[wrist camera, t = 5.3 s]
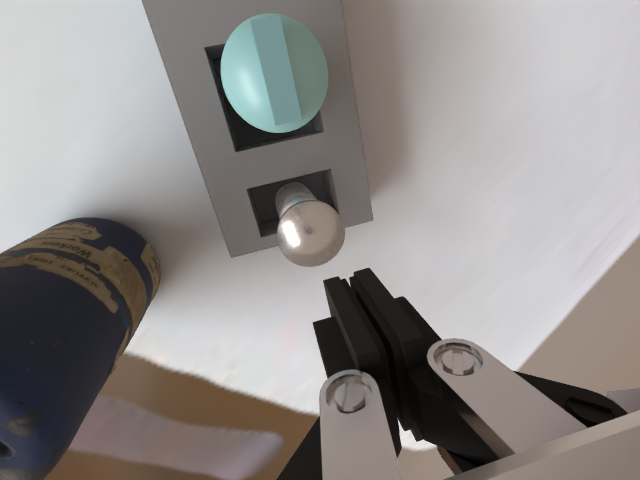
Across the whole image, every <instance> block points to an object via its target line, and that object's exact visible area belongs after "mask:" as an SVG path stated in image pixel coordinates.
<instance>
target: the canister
mask: <svg viewBox="0 0 640 480" xmlns="http://www.w3.org/2000/svg"><path fill="white" fill-rule="evenodd" d="M159 282H160V266H159V262H158V259H157V256H156V254H155V252H154V251H153V249H152V248H151V246H150V245H149V244H148V242H147V241H145V240H144V239H143V238H142V237H141V236H140V235H139V234H138V233H136V232H135V231H133V230H132V229H130V228H128V227H126V226H124V225H122V224H120V223H117V222H114V221H110V220H106V219H101V218H76V219H71V220H68V221H64V222H61V223H59V224H56V225H54V226H52V227H50V228H48V229H46V230H44V231H42V232H40V233H38V234H37V235H35V236H33V237H31V238H29V239H27V240H25V241H23V242H21V243H19V244H17V245H16V246H14V247H12V248H10V249H8V250H6V251H4V252H2V253H1V254H0V480H43V479H44V478H45V477H46V476H47V475H48V474H49V473H50V472H51V471H52V470H53V468H54V467H55V466H56V465H57V464H58V462H59V461H60V459H61V458H62V457H63V455H64V454H65V452H66V450H67V449H68V447H69V446H70V444H71V442H72V440H73V438H74V437H75V435H76V433H77V431H78V429H79V427H80V425H81V423H82V422H83V420H84V418H85V416H86V414H87V412H88V411H89V409H90V407H91V406H92V404H93V402H94V400H95V398H96V397H97V395H98V393H99V392H100V390H101V389H102V387H103V385H104V384H105V382H106V380H107V379H108V377H109V376H110V374H111V373H112V372H114V370H115V367H116V362H117V361H118V359H119V357H120V356H121V355H122V353H123V352H124V351H125V349H126V347H127V346H128V344H129V342H130V340H131V338H132V337H133V335H134V333H135V331H136V330H137V328H138V326H139V324H140V322H141V320H142V318H143V316H144V314H145V312H146V310H147V308H148V306H149V305H150V303H151V301H152V299H153V298H154V296H155V294H156V292H157V289H158V286H159Z"/></svg>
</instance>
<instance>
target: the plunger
mask: <svg viewBox="0 0 640 480" xmlns="http://www.w3.org/2000/svg"><path fill="white" fill-rule="evenodd" d="M275 203H276V207H277V211H278V215H279V219H280V220H279V223H278V227H277V239H278V243H279V247H280V249H281V251H282V253H283V254H284V255H285V256H286V258H287V259H289V260H290V261H291V262H293V263H295V264H297V265H301V266H306V267H312V266H318V265H321V264H324V263H326V262H328V261H329V260H331V259H332V258H333V257H334V256H335V255H336V254H337V253H338V252H339V250H340V249H341V247H342V245H343V242H344V237H345V228H344V223H343V221H342V219H341V217H340V215H339V214H338V213H337V212H336V211H335V210H334V209H333V208H332V207H331V206H330V205H328V204H327V203H325V202H322V201H319V200H317V199H316V198H315V196H314V195H313V194H312V193H311V192H310V190H309V189H308V188H307V187H306V186H305V185H303V184H301V183H297V182H291V183H287V184H285V185H284V186H282V187H281V188H280V189H279V191H278V192H277V194H276V198H275Z"/></svg>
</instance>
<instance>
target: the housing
mask: <svg viewBox="0 0 640 480" xmlns="http://www.w3.org/2000/svg"><path fill="white" fill-rule="evenodd" d="M142 3H143V6H144V9H145V11H146V14H147V17H148V20H149V23H150V26H151V29H152V32H153V34H154V37H155V40H156V43H157V46H158V49H159V52H160V55H161V58H162V60H163V63H164V66H165V69H166V72H167V75H168V78H169V81H170V83H171V86H172V89H173V92H174V95H175V98H176V101H177V104H178V107H179V109H180V112H181V115H182V118H183V121H184V124H185V127H186V130H187V132H188V135H189V138H190V141H191V144H192V147H193V150H194V153H195V155H196V158H197V161H198V164H199V167H200V170H201V173H202V176H203V179H204V181H205V184H206V187H207V190H208V193H209V196H210V199H211V202H212V204H213V207H214V210H215V213H216V216H217V219H218V222H219V225H220V227H221V230H222V233H223V236H224V239H225V242H226V245H227V248H228V251H229V253H230V256H231V258H233V257H237V256H240V255H244V254H248V253H252V252H255V251H259V250H263V249H267V248H270V247H274V246H278V245H279V243H278V239H277V227H278V223H279V220H280V219H279V218H278V219H274V220H271V221H267V222H263V223H260V221H259V218H258V214H257V211H256V207H255V204H254V201H253V197H252V194H251V190H250V188H253V187H257V186H261V185H265V184H269V183H273V182H278V181H282V180H286V179H290V178H294V177H298V176H302V175H306V174H310V173H315V172H319V171H323V175H324V180H325V185H326V190H327V195H328V200H329V205H330V206H331V207H332V208H333V209H334V210H335V211H336V212H337V213H338V214H339V215H340V217H341V219H342V221H343V223H344V228H346V227H350V226H353V225H357V224H361V223H365V222H368V221H372V220H373V214H372V208H371V201H370V194H369V187H368V180H367V174H366V167H365V160H364V153H363V146H362V140H361V133H360V126H359V119H358V113H357V106H356V99H355V92H354V85H353V79H352V72H351V65H350V58H349V51H348V45H347V38H346V31H345V24H344V18H343V11H342V4H341V0H142ZM266 13H276V14H281V15H285V16H288V17H291V18H293V19H295V20H297V21H298V22H300V23H301V24H303V25H304V26H305V27H306V28H307V29H308V30H309V31H310V32H311V33H312V34H313V35H314V36H315V38H316V39H317V41H318V42H319V44H320V46H321V48H322V50H323V52H324V55H325V58H326V62H327V67H328V88H327V92H326V96H325V99H324V102H323V104H322V106H321V108H320V109H319V111H318V112H317V114H316V115H315V116H314V117H313V118H312V120H313V125H314V130H315V131H312V132H308V133H304V134H299V135H295V136H290V137H286V138H282V139H277V140H273V141H269V142H264V143H260V144H255V145H251V146H247V147H242V148H238V146H237V143H236V139H235V136H234V133H233V129H232V126H231V122H230V119H229V116H228V112H227V109H226V105H225V102H224V99H223V95H222V92H221V88H220V85H219V82H218V78H217V75H216V71H215V68H214V65H213V61H212V59H216V58H221V57H222V54H223V50H224V47H225V45H226V42H227V40H228V38H229V37H230V35H231V34H232V32H233V31H234V30H235V29H236V28H237V27H238V26H239V25H240V24H241V23H242V22H244V21H245V20H247V19H249V18H251V17H253V16H256V15H260V14H266Z"/></svg>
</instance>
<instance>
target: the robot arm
mask: <svg viewBox="0 0 640 480" xmlns="http://www.w3.org/2000/svg"><path fill="white" fill-rule="evenodd" d="M349 280H350V285H351V287H350V286H349V284H348V282H347V281H346V279H342V280H340V278H339V277H334V278H330V279H327V280H323V282H324V287H325V291H326V296H327V300H328V304H329V309H330V313H331V317H330V318H326V319H323V320H319V321H316V322H313V326H314V330H315V334H316V338H317V342H318V345H319V349H320V353H321V357H322V360H323V364H324V368H325V371H326V375H327V378H328V379H327V380H326V382H325V383H324V384H323V386H322V388H321V390H320V396H319V406H320V416H319V418H318V419H317V421H316V422H315V424H314V425H313V426H312V428H311V429H310V431H309V433H308V434H307V435H306V437H305V438H304V440H303V442H302V443H301V444H300V446H299V447H298V449H297V450H296V452H295V453H294V455H293V456H292V458H291V459H290V461H289V462H288V464H287V465H286V467H285V468H284V469H283V471H282V472H281V474H280V475H279V477H278V479H277V480H403V479H402V475H401V472H400V468H399V464H398V460H397V458H398V455H399V453H400V451H401V448H402V447H401V441H400V435H399V433H400V432H399V425H398V420H399V422H400V424H401V426H402V428H403V429H404V431H407V430H411V432H412V434H413V436H414V438H415V440H416V442H417V441H420V440H423V439H424V440H425V441H428V442H430V443H432V444H435V445H437V450H438V452H439V454H440V455H441V457H442V459H443V460H444V461H445V463H446V464H447V465H448V467H449V468H450V469H451V471H452V472H453V473H454V475H455V476H452V477H449V478H447V479H444V480H640V388H637V389H627V390H616V391H608V392H607V396H606V397H605V396H603V395H601V394H599V393H596V392H593V391H590V390H587V389H583V388H579V387H575V386H571V385H567V384H563V383H559V382H555V381H551V380H547V379H543V378H539V377H536V376H532V375H528V374H523V373H519V372H516V371H512V370H511V369H509V368H508V367H507V366H505V365H504V364H503V363H501V362H500V361H499V360H497V359H496V358H495V357H493V356H492V355H491V354H490V353H488V352H487V351H486V350H484V349H483V348H482V347H480V346H478V345H477V344H475V343H473V342H470V341H467V340H464V339H457V338H452V339H444V340H442V339H441V338H440V337H439V336H438V335H437V334H436V332H435V331H434V330H433V329H432V328H431V327H430V326H429V324H428V323H427V322H426V321H425V320H424V319H423V318H422V316H421V315H420V314H419V313H418V312H417V311H416V310H415V308H414V307H413V306H412V305H411V304H410V303H409V302H408V300H407V299H406V298H405V297H398V298H395V299H394V298H393V296H392V295H391V294H390V293H389V292H388V290H387V289H386V288H385V287H384V285H383V284H382V283H381V282H380V280H379V279H378V278H377V277H376V275H375V274H374V273H373V272H372V270H371V269H370V268H366V269H363V270H359V271H356V272H354V276H353V277H350V278H349ZM397 418H398V419H397Z"/></svg>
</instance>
